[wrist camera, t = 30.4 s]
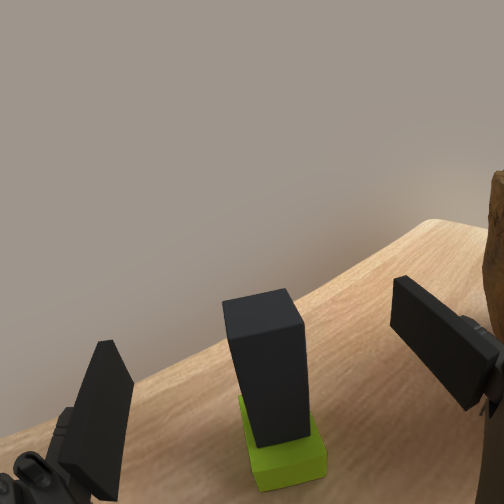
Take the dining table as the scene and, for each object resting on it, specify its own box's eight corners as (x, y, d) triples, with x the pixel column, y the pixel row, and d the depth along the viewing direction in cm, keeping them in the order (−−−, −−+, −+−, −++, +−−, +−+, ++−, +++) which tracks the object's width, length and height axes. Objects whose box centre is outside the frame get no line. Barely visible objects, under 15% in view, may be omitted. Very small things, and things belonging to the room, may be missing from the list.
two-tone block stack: (326, 476, 14) (330, 341, 10) (260, 492, 14) (216, 367, 10) (300, 409, 20) (287, 271, 16) (245, 421, 20) (209, 288, 15)
